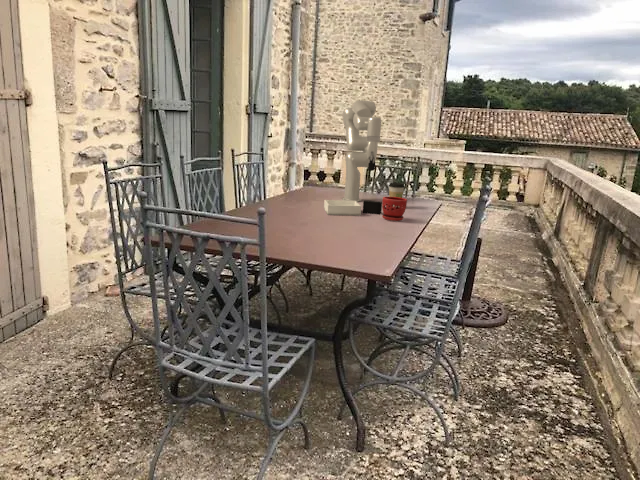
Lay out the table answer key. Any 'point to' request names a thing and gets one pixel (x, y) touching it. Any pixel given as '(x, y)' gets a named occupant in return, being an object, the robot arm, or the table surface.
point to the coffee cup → (396, 190)
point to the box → (342, 207)
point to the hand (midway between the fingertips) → (371, 169)
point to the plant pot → (393, 208)
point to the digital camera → (372, 207)
